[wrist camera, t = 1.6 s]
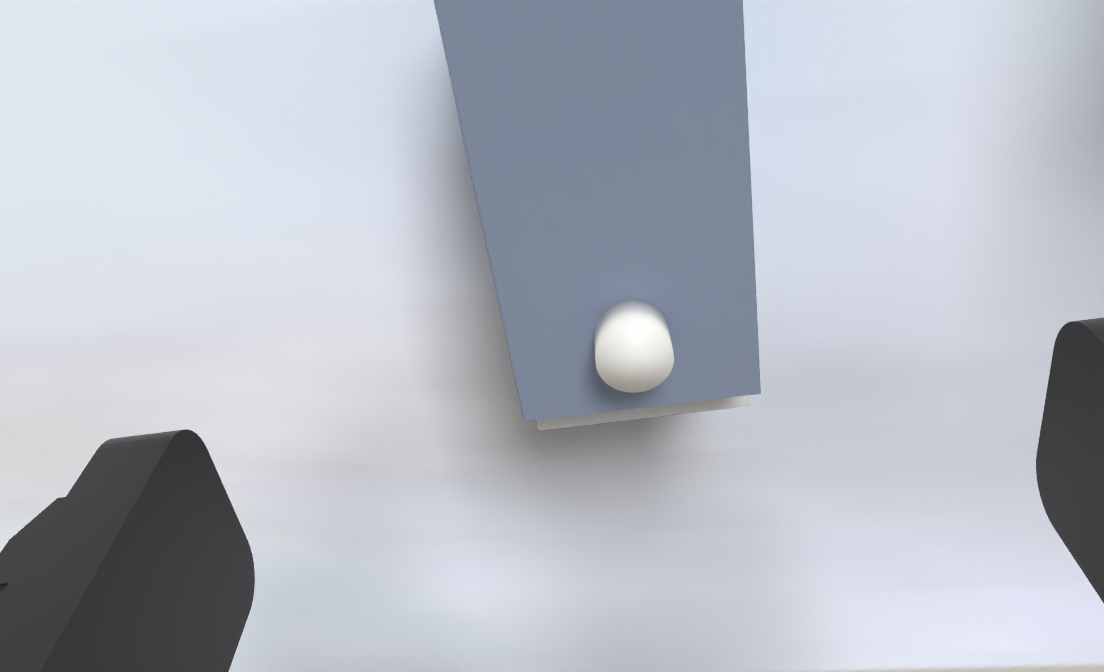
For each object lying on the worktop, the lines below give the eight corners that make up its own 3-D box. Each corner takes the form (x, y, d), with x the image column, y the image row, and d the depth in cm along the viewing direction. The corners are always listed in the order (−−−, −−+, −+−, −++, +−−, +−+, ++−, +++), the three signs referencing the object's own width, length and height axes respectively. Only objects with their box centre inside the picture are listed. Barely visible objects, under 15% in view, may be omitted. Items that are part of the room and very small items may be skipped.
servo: (680, -185, 16) (745, -156, 10) (714, 285, 21) (771, 481, 15) (457, -145, 17) (401, -97, 11) (542, 308, 21) (534, 508, 16)
